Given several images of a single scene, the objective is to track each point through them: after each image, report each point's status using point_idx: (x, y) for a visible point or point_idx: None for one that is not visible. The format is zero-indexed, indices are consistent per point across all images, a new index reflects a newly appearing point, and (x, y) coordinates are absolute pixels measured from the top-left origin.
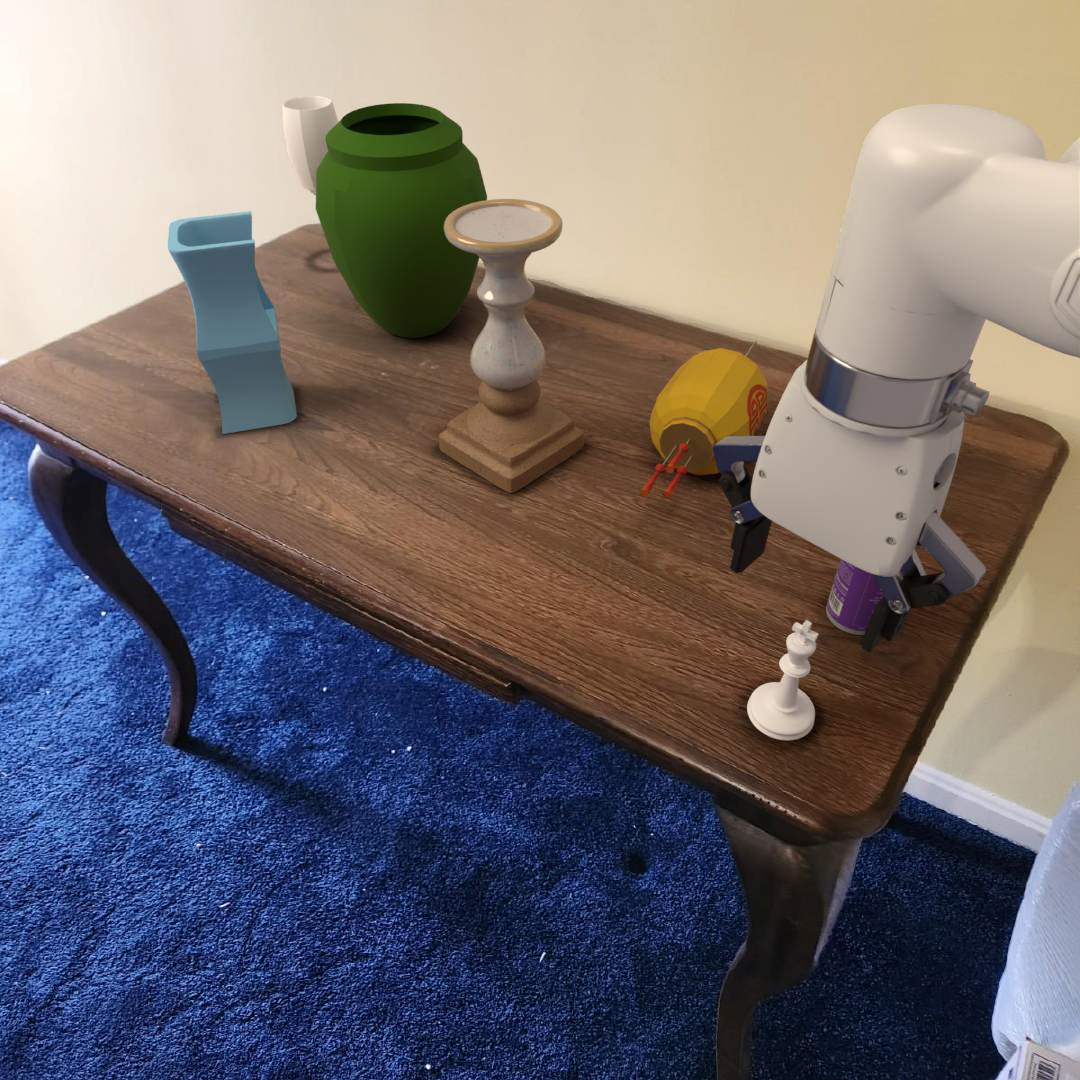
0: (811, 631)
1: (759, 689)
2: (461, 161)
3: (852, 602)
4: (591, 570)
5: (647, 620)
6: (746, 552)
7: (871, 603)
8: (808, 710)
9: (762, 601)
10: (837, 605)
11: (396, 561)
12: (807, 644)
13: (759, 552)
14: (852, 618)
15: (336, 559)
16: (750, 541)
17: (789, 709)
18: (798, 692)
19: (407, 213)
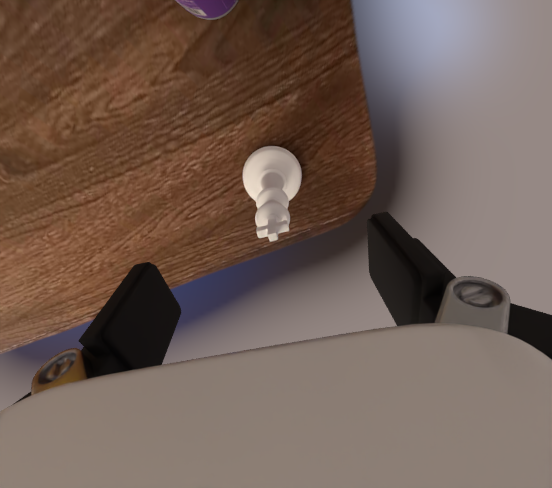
0: (279, 228)
1: (247, 184)
2: None
3: (210, 3)
4: (44, 209)
5: (127, 204)
6: (166, 338)
7: None
8: (290, 165)
9: (138, 76)
10: (195, 11)
11: (10, 318)
12: (280, 220)
13: (156, 282)
14: (222, 7)
15: (3, 342)
16: (156, 354)
17: (283, 188)
18: (269, 158)
19: None
